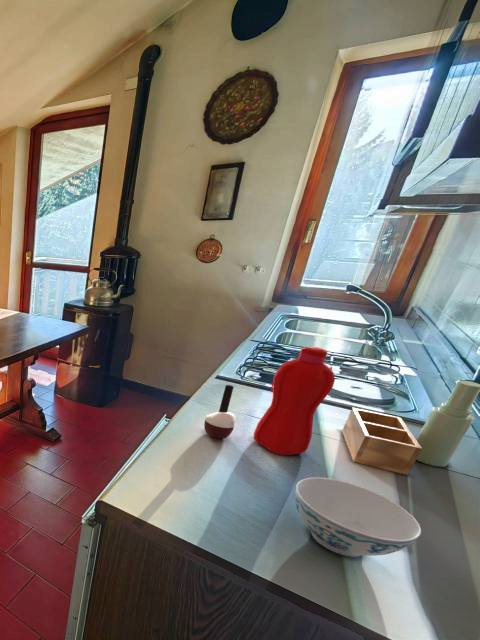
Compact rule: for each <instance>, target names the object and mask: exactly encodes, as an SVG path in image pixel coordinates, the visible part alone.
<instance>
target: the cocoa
mask: <svg viewBox="0 0 480 640" xmlns="http://www.w3.org/2000/svg"><path fill="white" fill-rule="evenodd" d="M234 388H235V387H234V386H233V385H229V384H226V385H225V387H224V390H223V394H222V398H221V402H220V405H219V409H218V410H219V411H216V412H213V413H210V414H207V415H206V416H205V417H204V418H205V419H204V422H203V423H204V424H203V425H204V431H205V433H206V434H207V435H208V436H209V437H211V438H213V439H218V440H221V439H226V438H228V437H229V436H230V435H231V434H232V432H233V431H234V428H235V424H236V415H234V413H232V412H228V411H229V406H230V403H231V399H232V395H233V391H234Z"/></svg>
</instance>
